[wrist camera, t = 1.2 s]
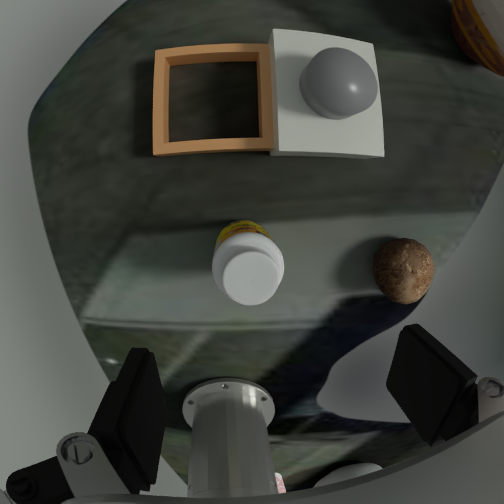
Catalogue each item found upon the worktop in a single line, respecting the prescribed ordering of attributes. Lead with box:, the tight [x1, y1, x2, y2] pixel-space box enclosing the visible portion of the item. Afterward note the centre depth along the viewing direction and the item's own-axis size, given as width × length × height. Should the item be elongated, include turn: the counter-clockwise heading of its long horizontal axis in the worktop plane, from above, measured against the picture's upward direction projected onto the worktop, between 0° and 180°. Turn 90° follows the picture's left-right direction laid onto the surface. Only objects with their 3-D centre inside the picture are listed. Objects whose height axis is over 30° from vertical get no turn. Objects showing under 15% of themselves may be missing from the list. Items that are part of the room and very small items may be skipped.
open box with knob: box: [153, 29, 384, 159], centre depth 22 cm, size 12×21×8 cm, turn 92°
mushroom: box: [373, 238, 434, 304], centre depth 29 cm, size 8×8×6 cm
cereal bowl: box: [313, 463, 382, 488], centre depth 40 cm, size 17×17×7 cm
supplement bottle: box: [212, 220, 284, 305], centre depth 24 cm, size 6×6×10 cm
